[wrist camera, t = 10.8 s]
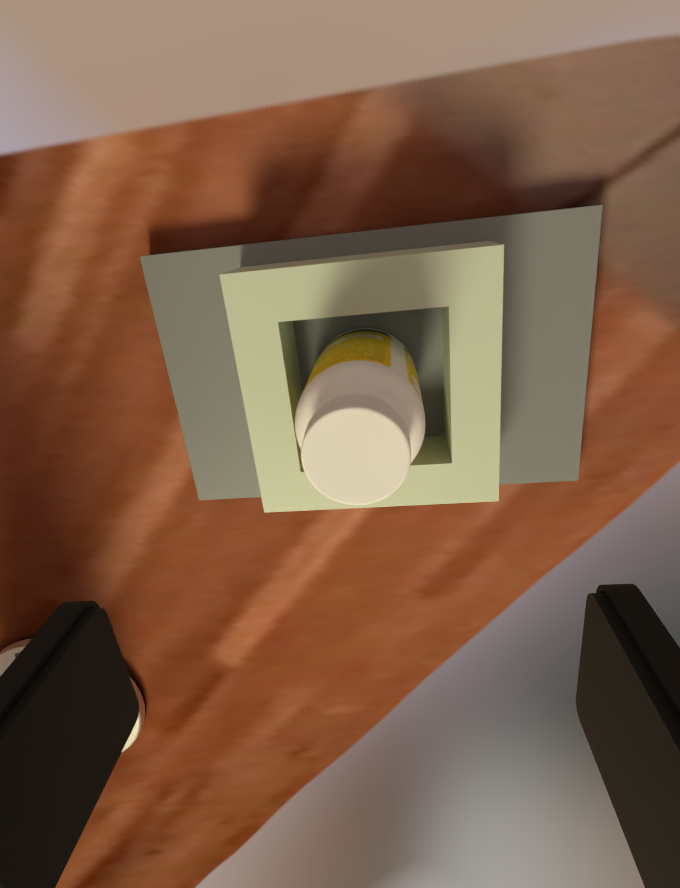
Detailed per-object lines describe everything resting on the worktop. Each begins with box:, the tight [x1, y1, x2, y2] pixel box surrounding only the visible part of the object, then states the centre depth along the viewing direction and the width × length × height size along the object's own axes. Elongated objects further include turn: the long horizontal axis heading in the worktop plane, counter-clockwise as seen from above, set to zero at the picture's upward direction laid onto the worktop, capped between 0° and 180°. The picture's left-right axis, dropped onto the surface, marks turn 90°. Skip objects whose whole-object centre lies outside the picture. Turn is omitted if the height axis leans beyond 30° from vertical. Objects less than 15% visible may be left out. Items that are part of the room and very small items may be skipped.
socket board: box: [140, 205, 603, 512], centre depth 26 cm, size 22×14×5 cm, turn 96°
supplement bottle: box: [295, 328, 425, 505], centre depth 23 cm, size 5×5×10 cm
